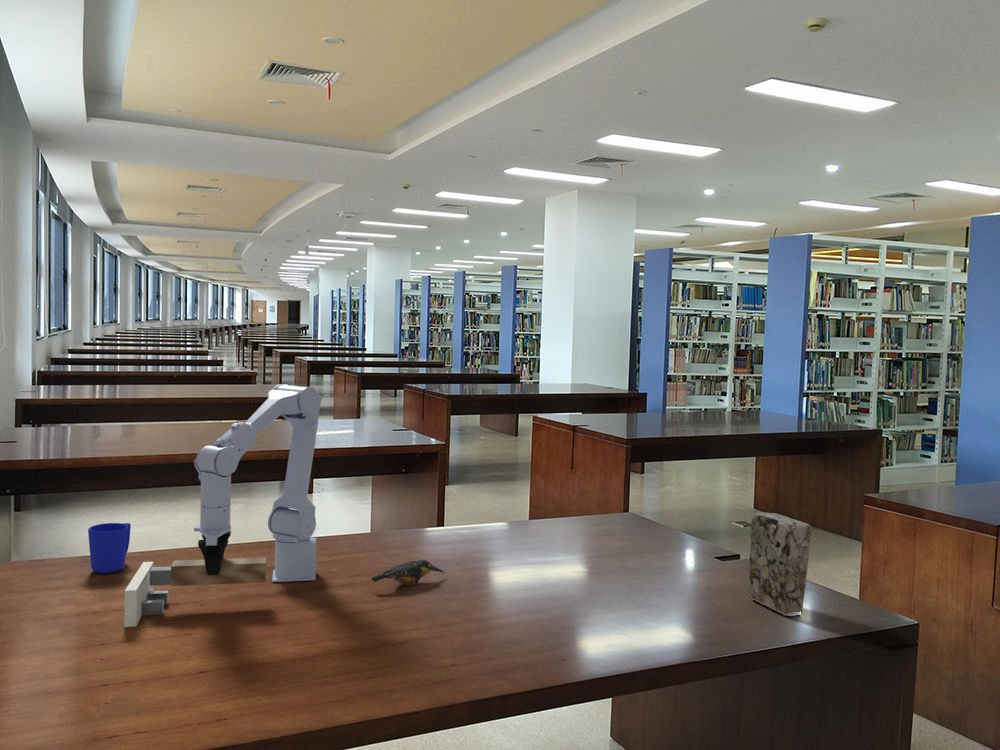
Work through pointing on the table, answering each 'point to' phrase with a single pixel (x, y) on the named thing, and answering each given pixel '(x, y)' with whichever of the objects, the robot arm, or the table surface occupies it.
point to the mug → (108, 546)
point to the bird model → (407, 572)
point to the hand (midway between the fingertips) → (214, 570)
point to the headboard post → (143, 597)
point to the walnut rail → (197, 575)
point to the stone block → (779, 561)
